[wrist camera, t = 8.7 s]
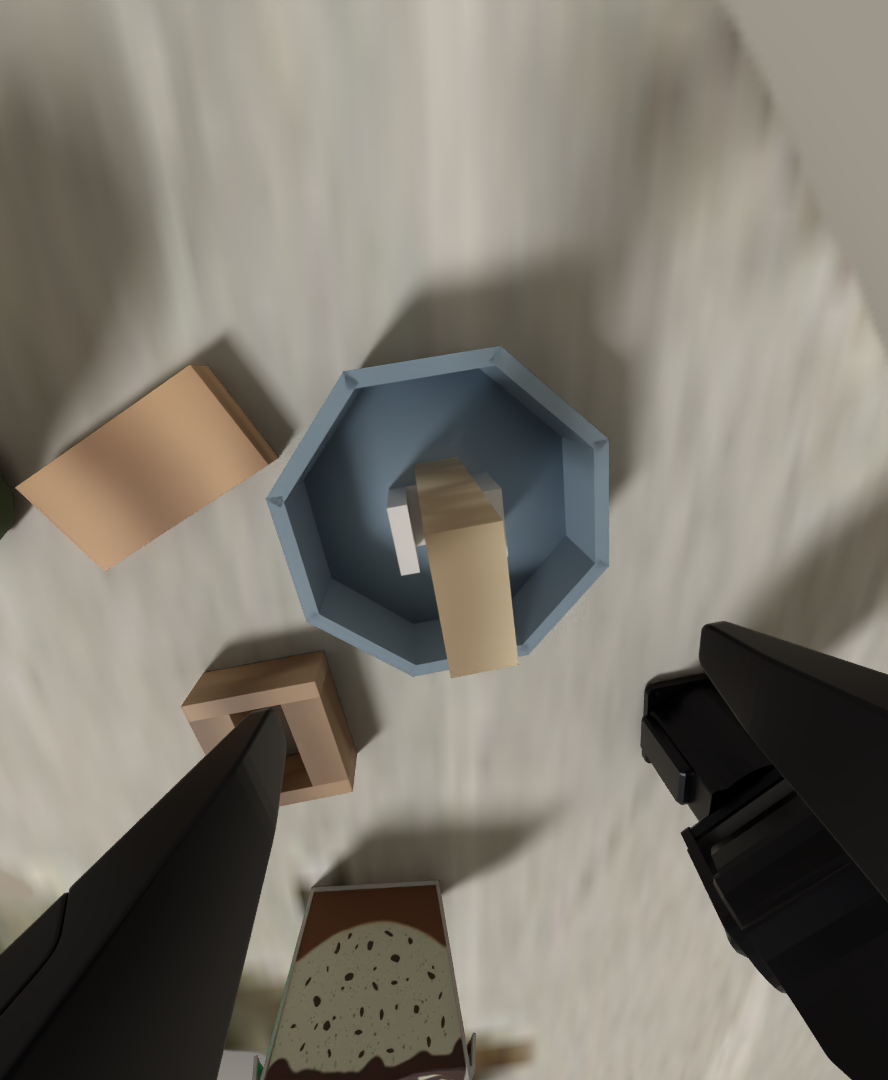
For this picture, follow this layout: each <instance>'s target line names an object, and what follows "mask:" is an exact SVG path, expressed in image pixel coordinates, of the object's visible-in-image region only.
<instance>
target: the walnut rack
mask: <svg viewBox="0 0 888 1080" xmlns="http://www.w3.org/2000/svg"><path fill="white" fill-rule="evenodd" d="M275 705H281V707H282V710H283V712H284V715H285V717H286V720H287V722H288V725H289V727H290V730H291V732H292V735H293V737H294V740H295V742H296V745H297V748H298V750H299V753H298V754H293V755H288V756H286V757H285V764H284V772H283V780H282V787H281V795H280V802H279V806H284V805H289V804H294V803H299V802H304V801H309V800H314V799H319V798H324V797H329V796H334V795H339V794H344V793H349V792H353V784H354V776H355V767H356V758H357V753H356V750H355V747H354V744H353V741H352V737H351V734H350V731H349V728H348V725H347V722H346V719H345V716H344V713H343V710H342V706H341V703H340V700H339V697H338V694H337V691H336V688H335V685H334V682H333V678H332V675H331V672H330V669H329V666H328V663H327V660H326V657H325V654H324V650H323V651H318V652H313V653H307V654H302V655H296V656H291V657H286V658H280V659H275V660H270V661H264V662H259V663H254V664H248V665H243V666H238V667H232V668H227V669H222V670H216V671H211V672H206V673H203V674H202V676H201V677H200V679H199V680H198V682H197V683H196V685H195V686H194V688H193V689H192V691H191V692H190V694H189V695H188V697H187V698H186V700H185V701H184V703H183V704H182V706H181V708H182V710H183V712H184V714H185V716H186V718H187V720H188V722H189V724H190V726H191V728H192V730H193V731H194V733H195V735H196V737H197V739H198V741H199V743H200V745H201V747H202V749H203V751H204V753H205V755H207V754H208V753H209V752H210V751H211V750H212V749H213V748H214V747H215V746H216V745H217V744H218V743H219V742H220V741H221V740H222V739H223V738H224V737H225V736H226V735H228V734H229V733H230V732H231V731H232V730H233V729H234V728H235V727H236V726H237V725H238V724H239V723H240V722H241V721H242V720H243V719H244V718H245V717H246V716H247V715H248V714H249V713H251V712H253V711H257V710H258V709H260V708H265V707H270V706H275Z"/></svg>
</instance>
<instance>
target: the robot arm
mask: <svg viewBox="0 0 888 1080" xmlns="http://www.w3.org/2000/svg"><path fill="white" fill-rule="evenodd" d="M699 661H700V664H701V666H702V668H703V670H704V671H705V672H706V674H701V675H695V676H690V677H685V678H680V679H675V680H670V681H665V682H660V683H654V684H651V685H649V686H647V687H646V689H645V692H644V716H643V718H642V724H641V748H642V757H643V758H644V760H645V761H646V762H647V763H652V765H653V766H654V768H655V769H656V771H657V772H658V774H659V776H660V777H661V779H662V780H663V782H664V783H665V785H666V786H667V788H668V789H669V791H670V792H671V794H672V795H673V797H674V799H675V800H676V801H677V802H678V803H679V804H681V805H685V804H688V806H689V807H690V809H691V810H692V812H693V813H694V815H695V816H696V818H697V819H698V821H699V822H698V823H697V824H695V825H694V826H693V827H691V828H690V827H687V828H686V829H685V830H683V831H682V832H681V835H682V837H683V839H684V841H685V843H686V845H687V847H688V849H687V851H688V853H689V855H690V857H691V859H692V861H693V863H694V866H695V868H696V870H697V872H698V874H699V876H700V878H701V880H702V882H703V885H704V887H705V889H706V891H707V893H708V895H709V897H710V899H711V901H712V903H713V906H714V908H715V910H716V912H717V914H718V916H719V918H720V920H721V922H722V925H723V926H724V929H725V932H726V935H727V938H728V940H729V942H730V944H731V945H732V947H733V948H734V949H735V950H736V952H737V953H739V954H741V955H743V956H745V957H747V958H749V960H750V961H751V962H752V963H753V965H754V966H755V967H756V968H757V970H758V971H759V972H760V973H761V974H762V975H763V976H764V977H765V979H766V980H767V981H768V982H769V983H770V984H771V985H773V986H774V987H775V988H776V989H777V990H779V991H780V992H781V993H787V995H788V996H789V998H790V999H791V1000H792V1002H793V1003H794V1005H795V1007H796V1008H797V1010H798V1011H799V1013H800V1014H801V1016H802V1017H803V1019H804V1021H805V1022H806V1024H807V1025H808V1027H809V1029H810V1030H811V1032H812V1033H813V1035H814V1036H815V1038H816V1040H817V1041H818V1043H819V1044H820V1046H821V1047H822V1049H823V1051H824V1052H825V1054H826V1055H827V1056H828V1058H829V1059H830V1060H831V1061H832V1062H833V1063H834V1064H835V1065H836V1066H837V1067H838V1068H839V1069H840V1070H842V1071H843V1072H844V1073H845V1074H846V1075H847V1076H848V1077H849V1078H850V1079H852V1080H888V674H885V673H882V672H879V671H875V670H872V669H869V668H866V667H863V666H860V665H857V664H854V663H851V662H848V661H845V660H842V659H839V658H836V657H833V656H830V655H827V654H824V653H821V652H818V651H815V650H811V649H808V648H805V647H802V646H799V645H796V644H793V643H790V642H787V641H784V640H781V639H778V638H775V637H772V636H769V635H766V634H763V633H760V632H757V631H754V630H751V629H747V628H744V627H741V626H738V625H735V624H732V623H729V622H726V621H720V622H715V623H710V624H706V625H704V626H703V628H702V631H701V639H700V649H699ZM286 749H287V744H286V738H285V735H284V732H283V730H282V727H281V725H280V723H279V720H278V718H277V715H276V713H275V711H274V710H273V709H270V708H268V709H263V710H257V711H253V712H251V713H249V714H248V715H247V716H246V717H245V718H244V719H243V720H242V721H241V722H240V723H239V724H238V725H237V726H236V727H235V728H234V729H233V730H232V731H231V732H230V733H229V734H228V735H226V736H225V737H224V738H223V739H222V740H221V741H220V742H219V743H218V744H217V745H216V746H215V747H214V748H213V749H212V750H211V751H210V752H209V753H208V754H207V755H206V756H205V757H204V758H203V759H202V760H201V761H200V762H199V763H198V764H197V765H196V766H195V767H194V768H193V769H192V770H190V771H189V772H188V773H187V774H186V775H185V776H184V777H183V778H182V779H181V780H180V781H179V782H178V783H177V784H176V785H175V786H174V787H173V788H172V789H171V790H170V791H169V792H168V793H167V794H166V795H165V796H164V797H163V798H162V799H161V800H160V801H159V802H158V803H157V804H156V805H154V806H153V807H152V808H151V809H150V810H149V811H148V812H147V813H146V814H145V815H144V816H143V817H142V818H141V819H140V820H139V821H138V822H137V823H136V824H135V825H134V826H133V827H132V828H131V829H130V830H129V831H128V832H127V833H126V834H125V835H124V836H123V837H122V838H121V839H120V840H118V841H117V842H116V843H115V844H114V845H113V846H112V847H111V848H110V849H109V850H108V851H107V852H106V853H105V854H104V855H103V856H102V857H101V858H100V859H99V860H98V861H97V862H96V863H95V864H94V865H93V866H92V867H91V868H90V869H89V870H88V871H87V872H86V873H85V874H83V875H82V876H81V877H80V878H79V879H78V880H77V881H76V882H75V883H74V884H73V885H72V886H71V887H70V889H69V893H64V894H63V895H62V896H61V897H60V898H59V899H58V900H57V901H56V902H55V903H54V904H52V905H51V906H50V907H49V908H48V909H47V910H46V911H45V912H44V913H43V914H42V915H41V916H40V917H39V918H38V919H37V920H36V921H35V922H34V923H33V924H32V925H31V926H30V927H29V928H28V929H27V930H25V931H24V932H23V933H22V934H21V935H20V936H19V937H18V938H17V939H16V940H15V941H14V942H13V943H12V944H11V945H10V946H9V947H8V948H7V949H5V950H4V951H3V952H2V953H1V954H0V1080H217V1076H218V1072H219V1068H220V1064H221V1059H222V1055H223V1051H224V1047H225V1043H226V1038H227V1034H228V1030H229V1026H230V1021H231V1017H232V1013H233V1009H234V1005H235V1000H236V996H237V992H238V988H239V983H240V979H241V975H242V971H243V966H244V962H245V958H246V954H247V950H248V945H249V941H250V937H251V933H252V928H253V924H254V920H255V916H256V912H257V907H258V903H259V899H260V895H261V890H262V886H263V882H264V878H265V873H266V869H267V865H268V861H269V857H270V852H271V848H272V844H273V839H274V834H275V830H276V823H277V817H278V810H279V802H280V795H281V787H282V780H283V772H284V764H285V757H286Z"/></svg>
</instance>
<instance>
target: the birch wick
mask: <svg viewBox="0 0 888 1080" xmlns="http://www.w3.org/2000/svg"><path fill="white" fill-rule="evenodd" d="M414 471H415V478H416V484H417V491H418V498H419V505H420V511H421V518H422V525H423V532H424V538H425V543H426V548H427V554H428V559H429V564H430V570H431V575H432V580H433V585H434V591H435V596H436V601H437V607H438V612H439V617H440V623H441V628H442V633H443V639H444V644H445V649H446V654H447V660H448V665H449V670H450V676H451V678H454V677H460V676H465V675H470V674H475V673H480V672H485V671H490V670H496V669H501V668H506V667H511V666H516V665H519V664H518V655H517V645H516V636H515V627H514V618H513V608H512V599H511V590H510V580H509V571H508V562H507V553H506V543H505V534H504V525H503V520H502V519H501V517H500V516H499V514H498V513H497V512H496V510H495V509H494V507H493V506H492V505H491V503H490V502H489V500H488V499H487V498H486V496H485V495H484V493H483V492H482V491H481V489H480V488H479V487H478V485H477V484H476V482H475V481H474V480H473V478H472V477H471V475H470V474H469V473H468V471H467V470H466V468H465V467H464V466H463V464H462V463H461V461H460V460H459V459H458V457H452V458H447V459H441V460H435V461H430V462H424V463H418V464H414Z"/></svg>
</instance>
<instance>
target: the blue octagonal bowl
mask: <svg viewBox="0 0 888 1080" xmlns="http://www.w3.org/2000/svg"><path fill="white" fill-rule="evenodd" d="M452 457H458V459H459V460H460V461H461V463H462V464H463V466H464V467H465V468H466V470H467V471H468V473H469V474H470V475H471V477H472V478H473V480H474V481H475V482H476V484H477V485H478V487H479V488H480V489H481V491H482V492H483V493H484V495H485V496H486V498H487V499H488V500H489V502H490V503H491V505H492V506H493V507H494V509H495V510H496V512H497V513H498V514H499V516H500V517H501V519H502V520H503V525H504V534H505V543H506V553H507V562H508V571H509V580H510V590H511V599H512V608H513V618H514V627H515V636H516V645H517V655H518V657H519V656H524V655H529V654H530V652H531V651H532V650H533V649H534V648H535V647H536V646H537V645H538V644H539V643H540V641H541V640H542V639H543V638H544V637H545V636H546V635H547V634H548V633H549V631H550V630H551V629H552V628H553V627H554V626H555V625H556V624H557V623H558V622H559V620H560V619H561V618H562V617H563V616H564V615H565V614H566V613H567V612H568V611H569V609H570V608H571V607H572V606H573V605H574V604H575V603H576V602H577V601H578V600H579V598H580V597H581V596H582V595H583V594H584V593H585V592H586V591H587V590H588V589H589V587H590V586H591V585H592V584H593V583H594V582H595V581H596V580H597V579H598V578H599V576H600V575H601V574H602V573H603V572H604V571H605V570H606V569H607V568H608V566H609V439H608V438H607V437H606V436H604V435H603V434H602V433H601V432H600V431H599V430H597V429H596V428H595V427H594V426H593V425H592V424H591V423H589V422H588V421H587V420H586V419H585V418H584V417H582V416H581V415H580V414H579V413H578V412H577V411H575V410H574V409H573V408H572V407H571V406H570V405H569V404H567V403H566V402H565V401H564V400H563V399H562V398H560V397H559V396H558V395H557V394H556V393H555V392H554V391H552V390H551V389H550V388H549V387H548V386H547V385H545V384H544V383H543V382H542V381H541V380H540V379H538V378H537V377H536V376H535V375H534V374H533V373H532V372H530V371H529V370H528V369H527V368H526V367H525V366H523V365H522V364H521V363H520V362H519V361H518V360H516V359H515V358H514V357H513V356H512V355H511V354H510V353H508V352H507V351H506V350H505V349H504V348H503V347H501V346H495V347H489V348H483V349H477V350H471V351H465V352H459V353H453V354H447V355H440V356H434V357H428V358H422V359H416V360H410V361H404V362H398V363H392V364H386V365H379V366H373V367H367V368H361V369H355V370H349V371H343V373H342V375H341V376H340V378H339V380H338V381H337V383H336V385H335V386H334V388H333V389H332V391H331V393H330V394H329V396H328V398H327V399H326V401H325V403H324V404H323V406H322V408H321V409H320V411H319V412H318V414H317V416H316V417H315V419H314V421H313V422H312V424H311V426H310V427H309V429H308V431H307V432H306V434H305V435H304V437H303V439H302V440H301V442H300V444H299V445H298V447H297V449H296V450H295V452H294V454H293V455H292V457H291V459H290V460H289V462H288V463H287V465H286V467H285V468H284V470H283V472H282V473H281V475H280V477H279V478H278V480H277V482H276V483H275V485H274V486H273V488H272V490H271V491H270V493H269V495H268V496H267V498H266V501H267V504H268V507H269V510H270V513H271V516H272V519H273V522H274V525H275V528H276V531H277V534H278V537H279V540H280V543H281V546H282V549H283V552H284V555H285V558H286V561H287V564H288V567H289V570H290V573H291V576H292V579H293V582H294V585H295V588H296V591H297V594H298V597H299V600H300V604H301V607H302V610H303V613H304V616H305V619H306V622H308V623H310V624H312V625H314V626H316V627H318V628H320V629H322V630H323V631H325V632H327V633H329V634H331V635H333V636H335V637H337V638H339V639H341V640H343V641H345V642H347V643H349V644H351V645H353V646H355V647H356V648H358V649H360V650H362V651H364V652H366V653H368V654H370V655H372V656H374V657H376V658H378V659H380V660H382V661H384V662H386V663H387V664H389V665H391V666H393V667H395V668H397V669H399V670H401V671H403V672H405V673H407V674H409V675H411V676H413V677H414V676H419V675H424V674H429V673H435V672H440V671H445V670H449V665H448V660H447V654H446V649H445V644H444V639H443V633H442V628H441V623H440V617H439V612H438V607H437V601H436V596H435V591H434V585H433V580H432V575H431V570H430V564H429V559H428V554H427V548H426V543H425V538H424V532H423V525H422V518H421V511H420V505H419V498H418V491H417V484H416V478H415V471H414V464H418V463H424V462H430V461H435V460H441V459H447V458H452Z"/></svg>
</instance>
